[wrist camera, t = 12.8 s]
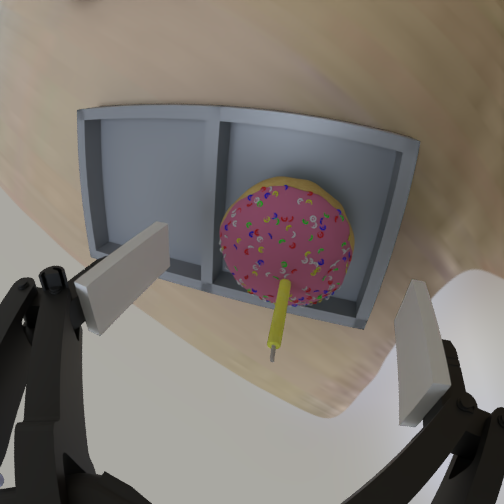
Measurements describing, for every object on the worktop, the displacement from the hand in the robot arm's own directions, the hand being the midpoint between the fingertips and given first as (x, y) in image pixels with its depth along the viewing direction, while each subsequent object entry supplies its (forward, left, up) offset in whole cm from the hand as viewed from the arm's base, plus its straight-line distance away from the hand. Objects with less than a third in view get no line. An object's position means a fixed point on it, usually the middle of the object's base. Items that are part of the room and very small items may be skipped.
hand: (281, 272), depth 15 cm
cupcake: (+1, 0, -9) cm, 9 cm away
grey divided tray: (+7, 0, -9) cm, 12 cm away
